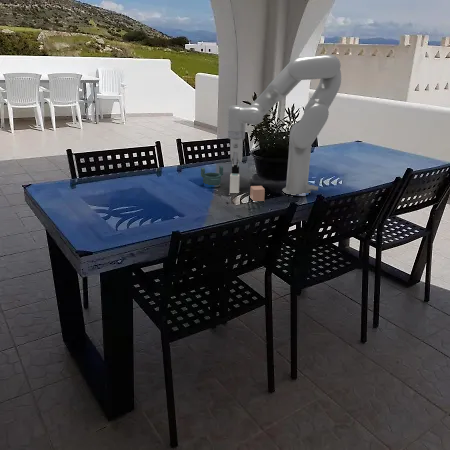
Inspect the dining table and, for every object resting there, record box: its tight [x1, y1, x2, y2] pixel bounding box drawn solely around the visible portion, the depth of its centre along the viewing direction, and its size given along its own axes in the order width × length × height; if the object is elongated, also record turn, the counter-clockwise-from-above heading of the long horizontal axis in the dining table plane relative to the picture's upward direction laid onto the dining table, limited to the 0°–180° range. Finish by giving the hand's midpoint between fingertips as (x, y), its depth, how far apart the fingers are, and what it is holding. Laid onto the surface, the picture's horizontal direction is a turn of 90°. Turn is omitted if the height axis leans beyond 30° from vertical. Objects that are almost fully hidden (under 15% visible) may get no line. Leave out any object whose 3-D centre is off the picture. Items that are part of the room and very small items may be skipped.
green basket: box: [200, 165, 224, 185], centre depth 206 cm, size 9×9×9 cm
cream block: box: [229, 172, 241, 194], centre depth 194 cm, size 4×4×9 cm
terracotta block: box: [249, 185, 266, 202], centre depth 186 cm, size 5×5×6 cm
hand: (235, 175), depth 198 cm, fingers closed
